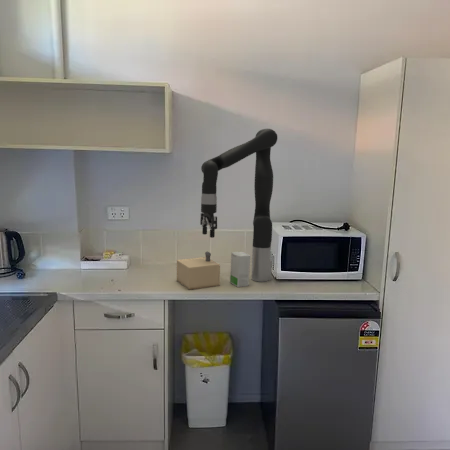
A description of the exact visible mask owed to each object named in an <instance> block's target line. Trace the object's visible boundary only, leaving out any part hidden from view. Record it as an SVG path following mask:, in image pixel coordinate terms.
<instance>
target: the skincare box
mask: <svg viewBox="0 0 450 450" xmlns="http://www.w3.org/2000/svg"><path fill="white" fill-rule="evenodd" d="M230 254H231V255H230V256H231V257H230V272H229V274H230V276H229V283H230V284H232V285H233V286H235V287H237V288H241V287H248V286H249V285H250V284H249V281H250V266H251V255H250V254H249V253H246V252H244V251H241V250H240V251H232V252H231V253H230Z"/></svg>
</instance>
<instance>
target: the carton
mask: <svg viewBox="0 0 450 450" xmlns="http://www.w3.org/2000/svg"><path fill="white" fill-rule="evenodd" d="M220 276H221V265H220V266H211V267H203V268H194V269H188V268H187V267H185V266H184V265H182V264H181V263H179V262H177V261H176V281H177V282H178V283H179V284H181V285H182V286H183V287H185V289H187V290H188V291H191V290H198V289H205V288H213V287H219V286H220V285H221V277H220Z"/></svg>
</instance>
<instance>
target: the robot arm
mask: <svg viewBox="0 0 450 450" xmlns="http://www.w3.org/2000/svg"><path fill="white" fill-rule="evenodd" d="M277 142H278V134H277V132H276V131H275V130H273V129H272V128H263V129H260V130H258V132H257V133H255V136H254V138H252V139H250V140H248V141H247V142H244V143H242V144H239V145H237V146H234V147H232V148H230V149H228V150H226V151H224V152H222V153H220V154H219V155H217V156H215V157H212V158H210V159H208V160H206V161H205V162H203V163H202V165H201V168H200V169H201V172H202V174H203V178H202V179H203V180H202V181H203V182H202V184H201V196H200V199H201V200H200V212H201V213H200V222H199V223H200V226H201V227H202V232H201V233H202V235H207V234H208V227H209V238H215V233H216V232H215V230H217V229H218V216H215V215H214V214H216V213H217V211H218V209H217V207H218V206H217V203H218V201H217V200H218V197H217V188H218V187H217V182H218V176H219V171H221V170H223V169H226V168H230V167H231V166H233V165H235V164H237V163H239V162H240V161H242V160H243V159H246V158H247V157H249V156H251V155H253V154H255V167H254V170H255V171H254V200H255V201H254V202H255V207H254V215H253V221H252V225H253V232H252V235H253V237H252V252H251V253H252V255H251V256H252V257H251V280H252V281H255V282H261V283H262V282H269V281H271V280H272V265H273V263H272V260H271V250H272V249H271V248H272V247H271V246H272V242H273V241H272V240H273V239H272V238H273V237H272V236H273V222H272V220H271V211H270V210H271V209H270V205H271V199H272V197H273V195H272V194H273V188H274V171H273V166H272V162H271V153H272V152H271V150H272V147H274V146H275V145H276V144H277Z"/></svg>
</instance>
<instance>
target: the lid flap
mask: <svg viewBox="0 0 450 450" xmlns="http://www.w3.org/2000/svg"><path fill="white" fill-rule="evenodd" d="M204 252H205V253H204V255H205V256H204V257H203V256H201V257H193V258H192V257H191V258H184V259H183V258H182V259H176V263H177V262H179V263H181V264H182V265H184V266H185V267H187V268H188V269H194V268H203V267H211V266H220V267H221V265H220V263H218V262H216V261H214V260H212V259H211V256H212V253H211V252H210V251H204Z"/></svg>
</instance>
